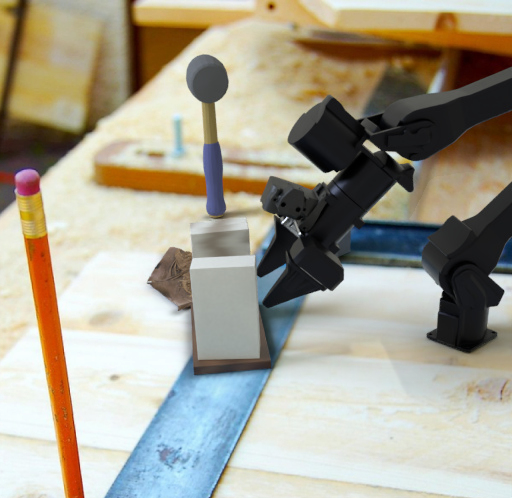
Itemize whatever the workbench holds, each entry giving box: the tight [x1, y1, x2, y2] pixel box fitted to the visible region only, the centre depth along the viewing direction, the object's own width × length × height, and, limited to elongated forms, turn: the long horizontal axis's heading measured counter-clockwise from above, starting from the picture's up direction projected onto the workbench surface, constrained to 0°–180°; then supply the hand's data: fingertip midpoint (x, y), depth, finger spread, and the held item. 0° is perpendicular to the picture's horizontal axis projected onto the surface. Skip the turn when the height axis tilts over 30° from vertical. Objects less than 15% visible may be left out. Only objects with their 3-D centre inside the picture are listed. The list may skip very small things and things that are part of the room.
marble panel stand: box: [189, 216, 272, 376], centre depth 104 cm, size 10×19×14 cm, turn 179°
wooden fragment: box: [146, 246, 193, 312], centre depth 127 cm, size 26×11×1 cm, turn 179°
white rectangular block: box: [190, 254, 260, 360], centre depth 98 cm, size 8×4×13 cm, turn 82°
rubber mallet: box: [185, 53, 230, 219], centre depth 145 cm, size 12×8×30 cm, turn 2°
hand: (260, 289), depth 97 cm, fingers open, 9 cm apart
